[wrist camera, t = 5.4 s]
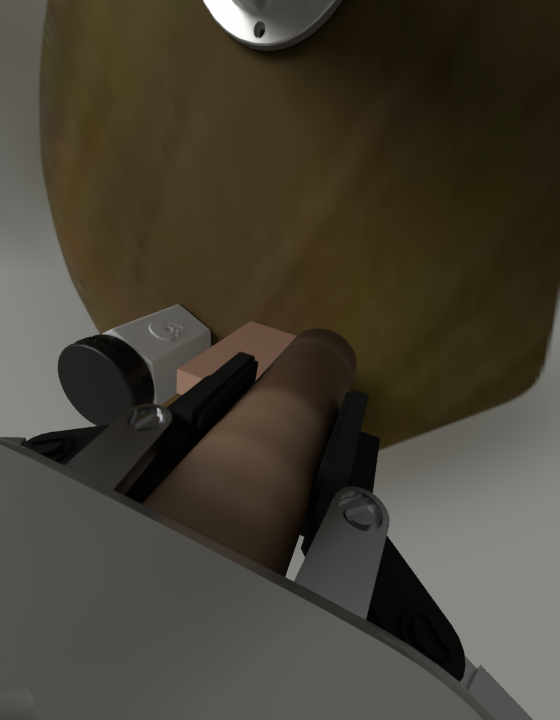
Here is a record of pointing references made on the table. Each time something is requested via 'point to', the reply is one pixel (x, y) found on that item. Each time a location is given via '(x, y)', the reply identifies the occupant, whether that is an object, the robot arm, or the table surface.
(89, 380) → the jar
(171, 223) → the table surface
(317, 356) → the stick
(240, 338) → the tile
